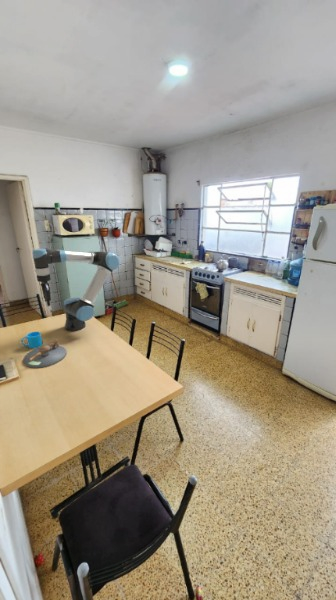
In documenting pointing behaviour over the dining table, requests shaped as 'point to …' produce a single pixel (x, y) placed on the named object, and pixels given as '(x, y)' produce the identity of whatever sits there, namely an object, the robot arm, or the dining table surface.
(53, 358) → the dial plate
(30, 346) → the mug
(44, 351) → the dial arm
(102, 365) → the dining table surface
